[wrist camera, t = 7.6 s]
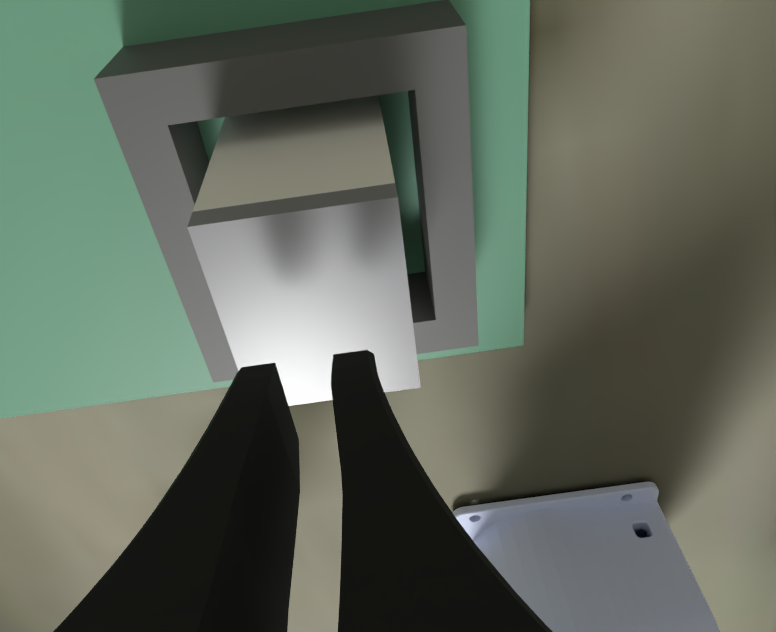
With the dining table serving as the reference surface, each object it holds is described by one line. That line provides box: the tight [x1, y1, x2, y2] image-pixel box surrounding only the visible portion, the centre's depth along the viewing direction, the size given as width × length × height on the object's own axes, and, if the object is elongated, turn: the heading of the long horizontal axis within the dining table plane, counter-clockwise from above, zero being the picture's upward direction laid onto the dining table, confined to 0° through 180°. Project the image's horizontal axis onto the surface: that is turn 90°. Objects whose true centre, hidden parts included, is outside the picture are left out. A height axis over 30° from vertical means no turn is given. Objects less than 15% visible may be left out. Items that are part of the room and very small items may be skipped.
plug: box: [187, 95, 421, 406], centre depth 16 cm, size 4×5×6 cm
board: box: [0, 0, 530, 418], centre depth 18 cm, size 22×14×4 cm, turn 97°
